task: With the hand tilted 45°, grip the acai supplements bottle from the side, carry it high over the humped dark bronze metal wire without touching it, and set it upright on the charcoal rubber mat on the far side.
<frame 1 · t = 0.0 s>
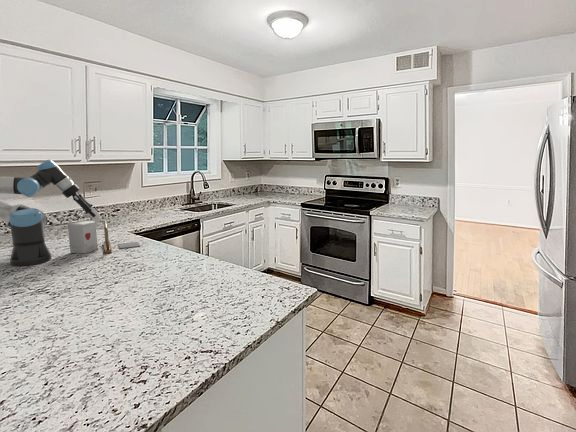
hand: (99, 219, 179), 15 cm above the worktop, tool tilted 35°, fingers open, 13 cm apart
mat: (129, 245, 184), on the worktop
bent wire: (107, 248, 179), on the worktop
supplement box: (84, 251, 174), on the worktop
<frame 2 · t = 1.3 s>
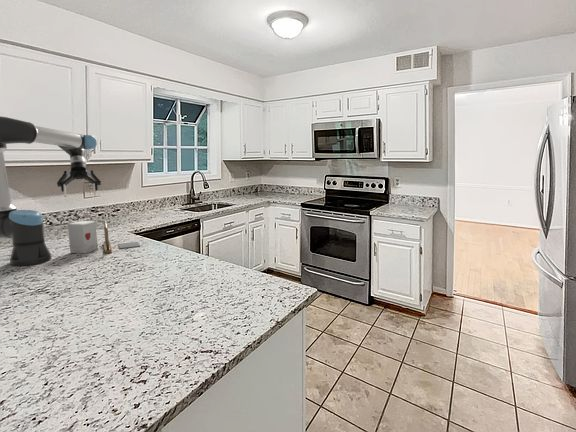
hand: (80, 194, 180), 28 cm above the worktop, tool tilted 45°, fingers open, 13 cm apart
nothing on the worktop moved.
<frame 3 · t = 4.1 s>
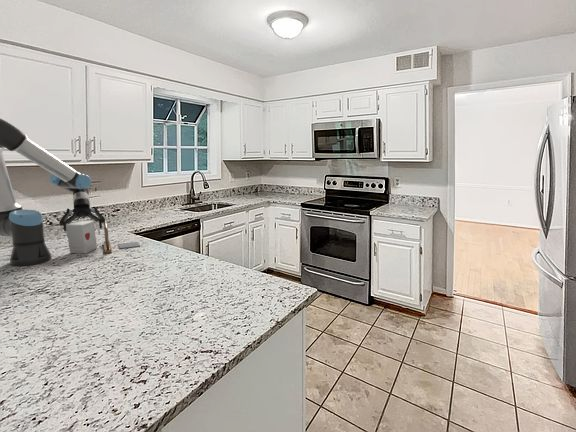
hand: (83, 234, 173), 9 cm above the worktop, tool tilted 45°, fingers open, 13 cm apart
supplement box: (84, 251, 174), on the worktop, touching gripper
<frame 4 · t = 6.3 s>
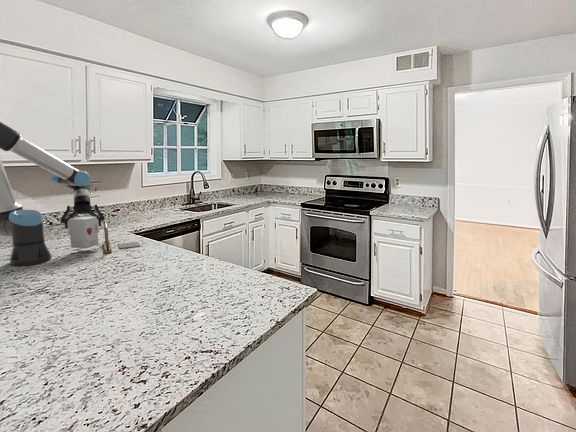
hand: (83, 232, 171), 10 cm above the worktop, tool tilted 45°, fingers closed on supplement box, 12 cm apart
supplement box: (85, 246, 173), point 2 cm above the worktop, touching gripper
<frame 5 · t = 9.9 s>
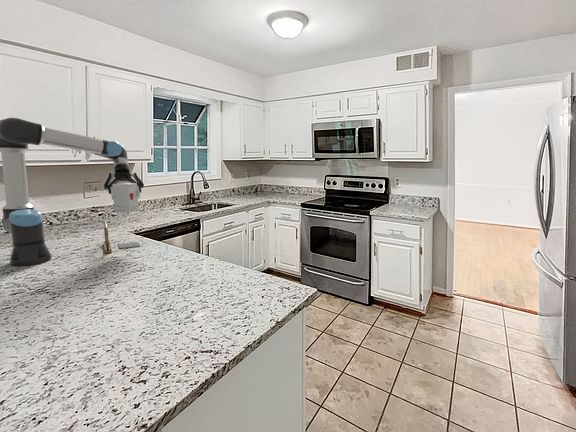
hand: (126, 197, 178), 27 cm above the worktop, tool tilted 45°, fingers closed on supplement box, 12 cm apart
supplement box: (127, 211, 180), point 19 cm above the worktop, touching gripper
when the fingers open (9 cm above the worktop, at t = 13.8 s): supplement box stays where it is, resting on mat.
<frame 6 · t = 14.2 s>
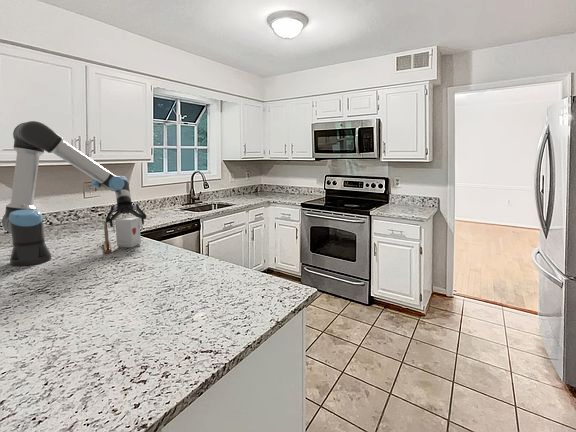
hand: (128, 230, 181), 9 cm above the worktop, tool tilted 45°, fingers open, 13 cm apart
supplement box: (129, 245, 183), resting on mat
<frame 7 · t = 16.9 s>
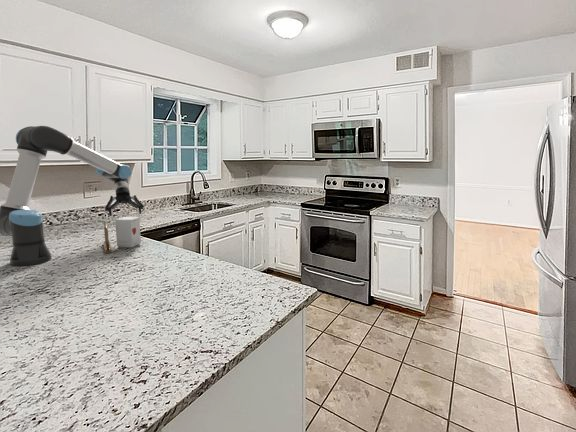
hand: (126, 218, 192), 13 cm above the worktop, tool tilted 45°, fingers open, 13 cm apart
nothing on the worktop moved.
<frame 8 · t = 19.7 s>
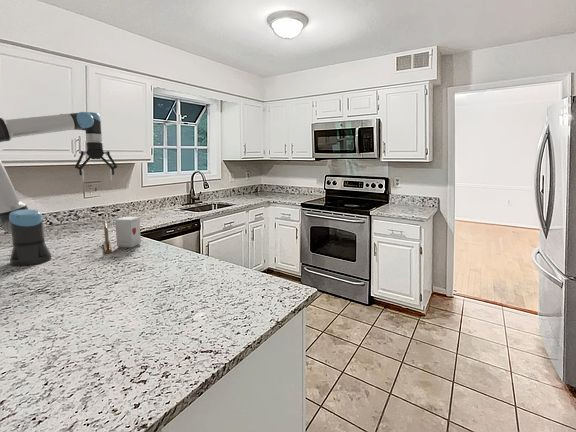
hand: (97, 181, 187), 35 cm above the worktop, tool pointing down, fingers open, 13 cm apart
nothing on the worktop moved.
at the end: supplement box inside the target area on the mat (1.1 cm from its centre), point 0.4 cm above the mat's base; supplement box tilted 0°; supplement box touching mat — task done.
